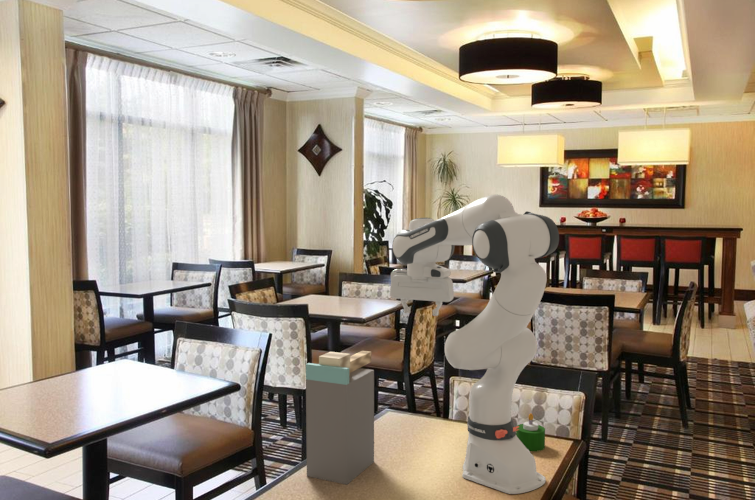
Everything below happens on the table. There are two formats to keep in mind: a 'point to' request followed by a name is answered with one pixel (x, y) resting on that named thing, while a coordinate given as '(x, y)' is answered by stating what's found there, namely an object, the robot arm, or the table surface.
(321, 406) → the pedestal
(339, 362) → the mallet
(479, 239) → the robot arm
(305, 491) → the table surface
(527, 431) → the candle
